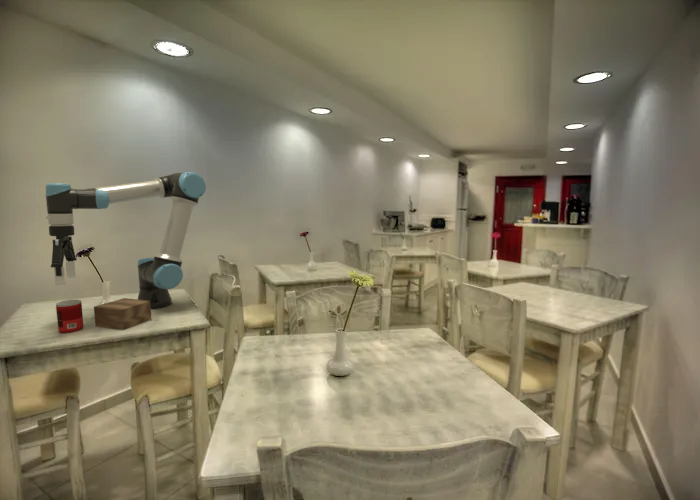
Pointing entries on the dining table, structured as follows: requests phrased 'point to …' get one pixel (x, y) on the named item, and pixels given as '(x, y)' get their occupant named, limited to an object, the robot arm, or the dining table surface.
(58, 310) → the canned food
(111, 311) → the walnut block
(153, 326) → the dining table surface
